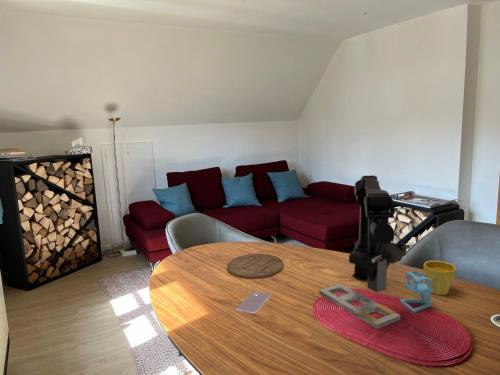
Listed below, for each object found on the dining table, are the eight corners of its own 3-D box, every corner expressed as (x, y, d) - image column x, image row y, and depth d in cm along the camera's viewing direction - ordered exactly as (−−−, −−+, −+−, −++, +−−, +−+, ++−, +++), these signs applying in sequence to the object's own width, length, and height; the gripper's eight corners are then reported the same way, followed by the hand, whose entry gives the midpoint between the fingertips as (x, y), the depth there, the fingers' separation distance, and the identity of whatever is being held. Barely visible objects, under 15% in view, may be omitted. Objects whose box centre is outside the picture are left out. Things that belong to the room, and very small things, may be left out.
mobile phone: (235, 308, 131) (253, 290, 145) (235, 311, 131) (253, 292, 145) (255, 312, 128) (271, 293, 141) (255, 315, 128) (271, 295, 141)
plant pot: (453, 287, 140) (454, 262, 139) (455, 299, 131) (456, 273, 129) (422, 283, 145) (423, 258, 143) (422, 295, 135) (423, 269, 134)
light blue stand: (436, 309, 125) (437, 275, 123) (412, 312, 124) (414, 278, 122) (421, 299, 133) (423, 266, 131) (399, 301, 132) (401, 269, 129)
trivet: (293, 262, 172) (293, 258, 172) (265, 284, 151) (265, 279, 151) (247, 254, 185) (246, 250, 185) (215, 273, 165) (215, 269, 164)
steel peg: (376, 284, 123) (376, 255, 121) (386, 289, 120) (386, 259, 118) (367, 287, 121) (367, 258, 120) (377, 292, 118) (377, 262, 116)
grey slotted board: (340, 287, 145) (340, 282, 144) (400, 319, 120) (400, 314, 120) (319, 294, 140) (319, 289, 140) (377, 329, 116) (377, 323, 115)
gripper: (375, 245, 106) (374, 297, 109) (420, 233, 114) (418, 281, 117) (347, 235, 116) (347, 283, 118) (391, 225, 124) (390, 269, 127)
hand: (376, 279), depth 120 cm, fingers closed on steel peg, 4 cm apart
